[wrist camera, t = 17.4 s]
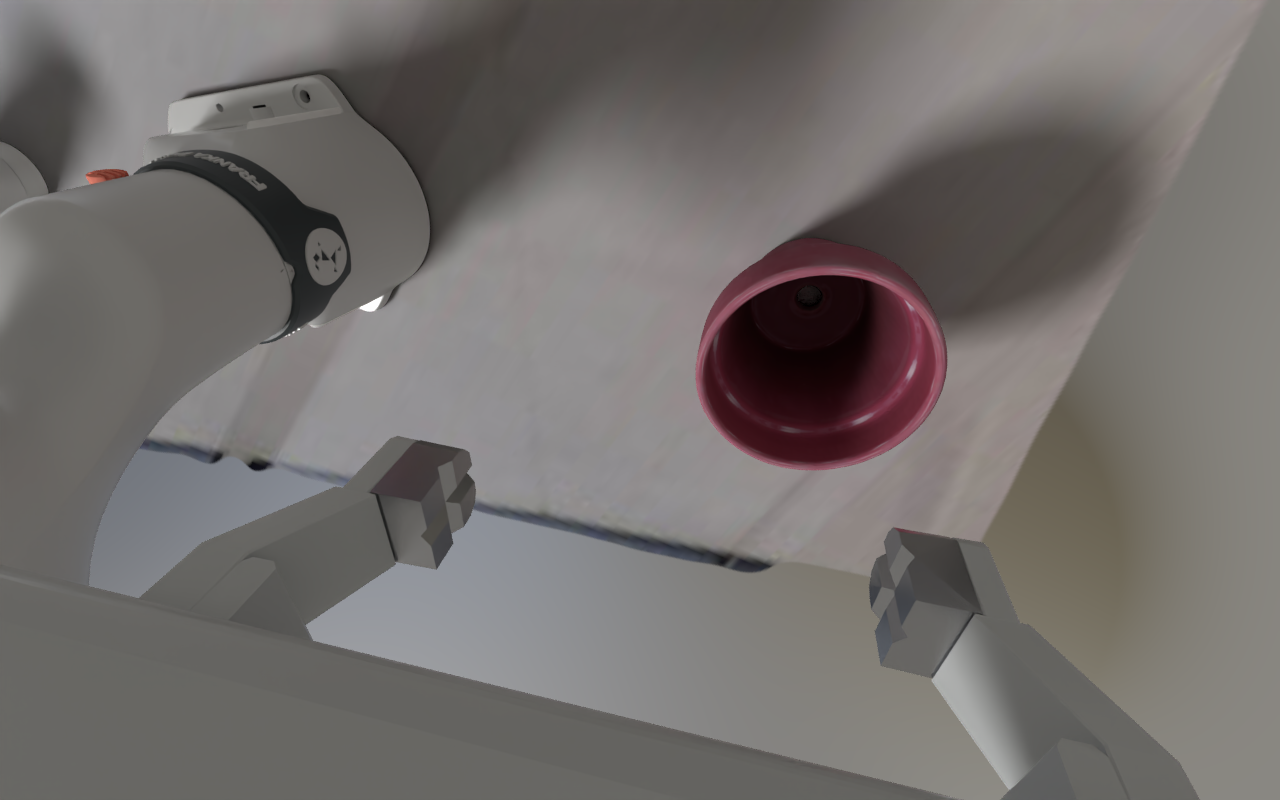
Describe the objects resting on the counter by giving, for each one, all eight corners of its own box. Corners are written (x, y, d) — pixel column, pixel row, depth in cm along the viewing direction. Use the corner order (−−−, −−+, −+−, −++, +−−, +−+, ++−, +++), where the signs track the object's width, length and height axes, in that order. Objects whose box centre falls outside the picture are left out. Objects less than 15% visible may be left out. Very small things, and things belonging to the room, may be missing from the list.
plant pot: (814, 404, 48) (824, 508, 37) (679, 314, 46) (650, 398, 35) (950, 275, 40) (1011, 361, 29) (794, 160, 38) (801, 208, 27)
